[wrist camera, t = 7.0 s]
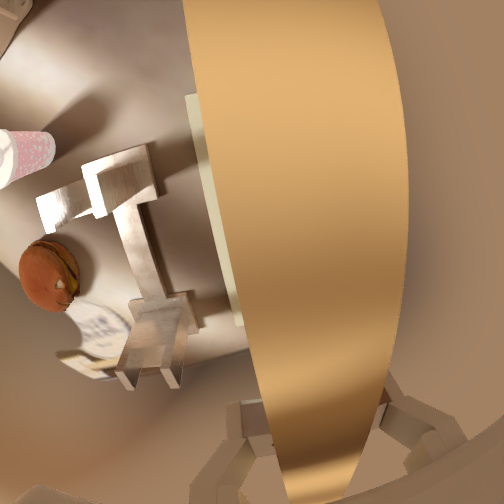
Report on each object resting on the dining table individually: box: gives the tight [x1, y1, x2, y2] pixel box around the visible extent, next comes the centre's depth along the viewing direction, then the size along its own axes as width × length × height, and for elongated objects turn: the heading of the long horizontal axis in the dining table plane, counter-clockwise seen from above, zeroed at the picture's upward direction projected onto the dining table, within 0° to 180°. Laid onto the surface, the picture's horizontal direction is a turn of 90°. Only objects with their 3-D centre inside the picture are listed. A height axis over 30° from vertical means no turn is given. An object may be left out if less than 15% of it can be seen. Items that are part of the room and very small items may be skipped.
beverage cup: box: [0, 129, 56, 189], centre depth 18 cm, size 6×6×14 cm
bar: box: [183, 0, 409, 504], centre depth 8 cm, size 26×3×3 cm, turn 9°
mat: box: [185, 93, 244, 327], centre depth 30 cm, size 28×10×1 cm, turn 10°
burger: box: [19, 240, 80, 312], centre depth 29 cm, size 10×9×5 cm
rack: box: [36, 144, 199, 390], centre depth 26 cm, size 24×8×12 cm, turn 10°
